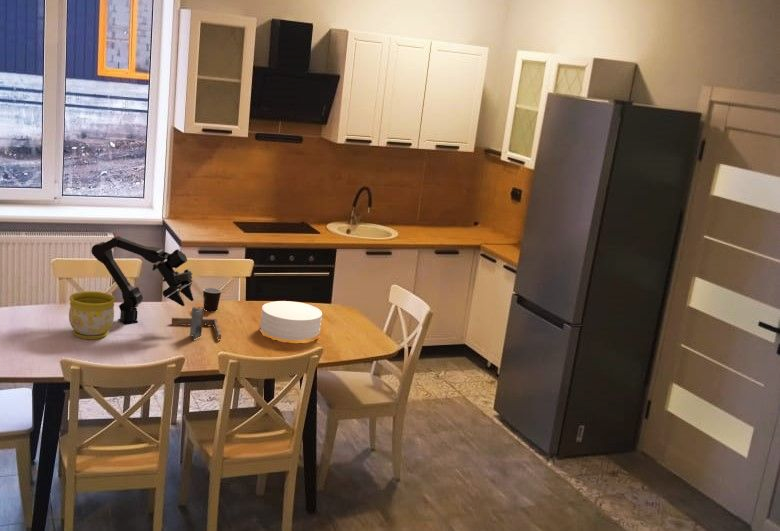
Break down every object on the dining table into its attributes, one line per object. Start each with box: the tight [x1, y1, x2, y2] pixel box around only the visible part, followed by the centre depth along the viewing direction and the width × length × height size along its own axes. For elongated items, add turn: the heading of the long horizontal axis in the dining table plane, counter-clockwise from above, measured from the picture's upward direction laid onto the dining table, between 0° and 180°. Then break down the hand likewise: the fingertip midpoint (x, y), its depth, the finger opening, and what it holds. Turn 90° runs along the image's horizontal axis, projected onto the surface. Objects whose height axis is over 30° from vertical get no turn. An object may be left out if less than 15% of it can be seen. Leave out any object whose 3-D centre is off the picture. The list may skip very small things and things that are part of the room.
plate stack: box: [259, 300, 323, 340], centre depth 372 cm, size 28×28×12 cm
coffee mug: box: [202, 287, 222, 312], centre depth 390 cm, size 12×9×10 cm
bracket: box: [189, 306, 204, 340], centre depth 348 cm, size 5×5×13 cm
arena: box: [171, 317, 222, 340], centre depth 356 cm, size 21×20×3 cm
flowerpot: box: [68, 290, 116, 340], centre depth 334 cm, size 18×18×16 cm
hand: (188, 303), depth 352 cm, fingers open, 9 cm apart
